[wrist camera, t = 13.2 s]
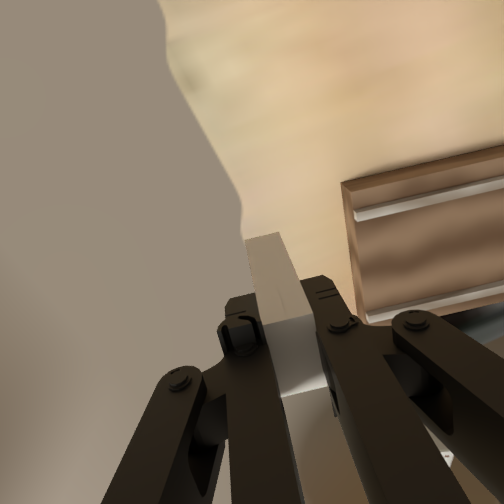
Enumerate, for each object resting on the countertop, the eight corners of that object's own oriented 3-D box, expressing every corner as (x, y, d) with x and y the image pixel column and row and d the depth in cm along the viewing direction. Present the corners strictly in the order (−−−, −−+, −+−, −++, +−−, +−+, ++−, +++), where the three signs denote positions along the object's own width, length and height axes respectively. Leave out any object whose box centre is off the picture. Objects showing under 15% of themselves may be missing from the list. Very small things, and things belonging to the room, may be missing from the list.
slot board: (340, 182, 48) (354, 194, 43) (513, 142, 48) (545, 150, 43) (357, 315, 55) (370, 337, 50) (507, 280, 55) (534, 299, 50)
